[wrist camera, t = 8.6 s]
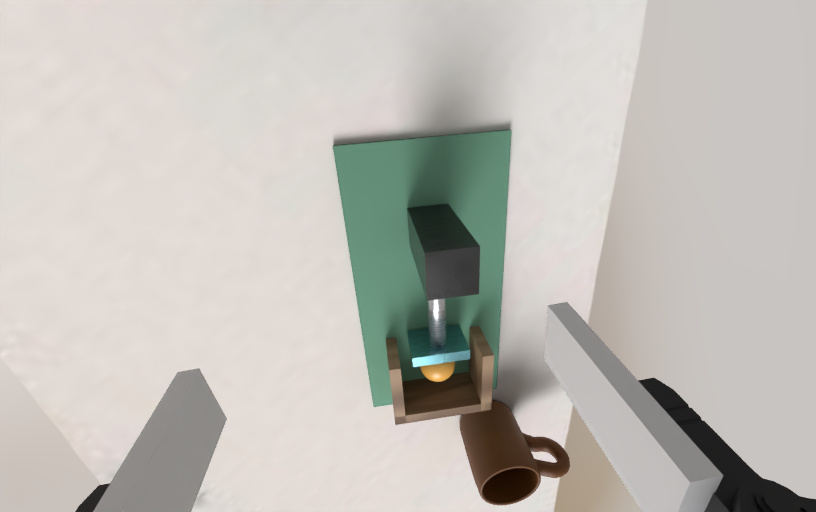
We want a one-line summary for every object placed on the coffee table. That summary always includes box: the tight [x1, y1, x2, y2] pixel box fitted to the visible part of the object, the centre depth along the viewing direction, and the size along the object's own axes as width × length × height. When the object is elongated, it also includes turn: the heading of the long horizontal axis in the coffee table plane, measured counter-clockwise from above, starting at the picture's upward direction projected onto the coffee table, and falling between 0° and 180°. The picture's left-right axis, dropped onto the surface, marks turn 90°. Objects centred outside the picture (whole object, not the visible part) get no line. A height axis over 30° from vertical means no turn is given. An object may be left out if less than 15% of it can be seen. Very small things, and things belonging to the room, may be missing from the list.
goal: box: [386, 326, 494, 425], centre depth 41 cm, size 8×11×5 cm
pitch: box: [333, 130, 511, 407], centre depth 39 cm, size 32×16×1 cm, turn 4°
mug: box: [460, 401, 570, 505], centre depth 46 cm, size 12×8×9 cm, turn 93°
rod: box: [407, 204, 480, 367], centre depth 33 cm, size 16×6×10 cm, turn 4°
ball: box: [420, 361, 455, 382], centre depth 41 cm, size 4×4×4 cm
